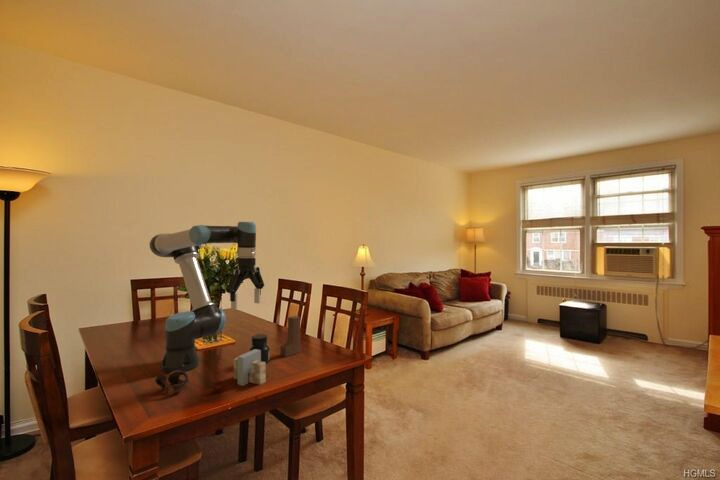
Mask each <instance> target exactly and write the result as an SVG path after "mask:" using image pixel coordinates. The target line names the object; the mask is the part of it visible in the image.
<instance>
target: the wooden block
mask: <svg viewBox="0 0 720 480" xmlns="http://www.w3.org/2000/svg"><path fill="white" fill-rule="evenodd" d="M279 350H280V351H279V352H280V353H279V354H280V356H282V357H285V358H286V357H289V356H290V357H291V356H294V355H297V354H300V353H301V317H300V316H297V315H293V316H288V317H287V339H286V341H285V343H284V344H282V345H280V348H279Z"/></svg>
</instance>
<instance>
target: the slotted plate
mask: <svg viewBox="0 0 720 480" xmlns="http://www.w3.org/2000/svg"><path fill="white" fill-rule="evenodd" d="M237 357H238V379H237V385H239V386H242V387H243V386H245V385H246V386H247V384H249V382H248V373H250V372H251V363H252V362H254V361H256V360H257V361H261V350H257V349H254V350H252V351H250V352H249V351H247V352H245V353H243V354H241V355H237Z"/></svg>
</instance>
